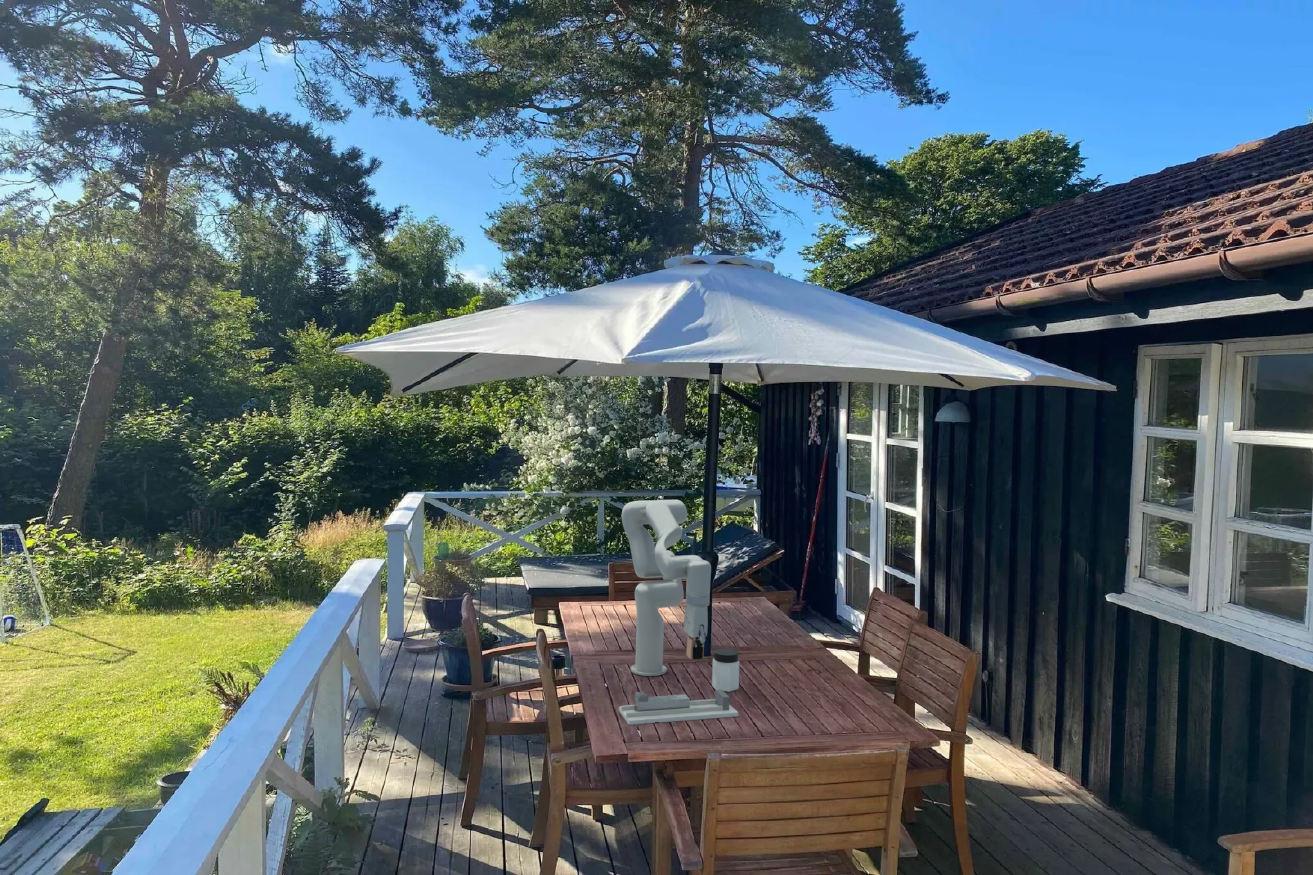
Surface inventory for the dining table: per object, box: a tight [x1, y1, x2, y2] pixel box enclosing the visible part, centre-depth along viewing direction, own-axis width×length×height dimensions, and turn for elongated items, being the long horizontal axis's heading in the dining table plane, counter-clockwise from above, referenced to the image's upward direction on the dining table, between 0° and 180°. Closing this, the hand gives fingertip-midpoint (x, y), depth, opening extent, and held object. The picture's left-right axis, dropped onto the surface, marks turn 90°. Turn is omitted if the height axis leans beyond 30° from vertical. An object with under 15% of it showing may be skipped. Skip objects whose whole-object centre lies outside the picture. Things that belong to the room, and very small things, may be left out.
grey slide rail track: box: [618, 689, 739, 726], centre depth 259 cm, size 12×34×5 cm, turn 107°
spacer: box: [685, 635, 705, 660], centre depth 272 cm, size 4×4×6 cm
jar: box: [711, 648, 740, 693], centre depth 285 cm, size 9×8×12 cm
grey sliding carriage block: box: [634, 691, 691, 712], centre depth 258 cm, size 4×16×5 cm, turn 107°
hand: (694, 655), depth 272 cm, fingers closed on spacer, 4 cm apart
